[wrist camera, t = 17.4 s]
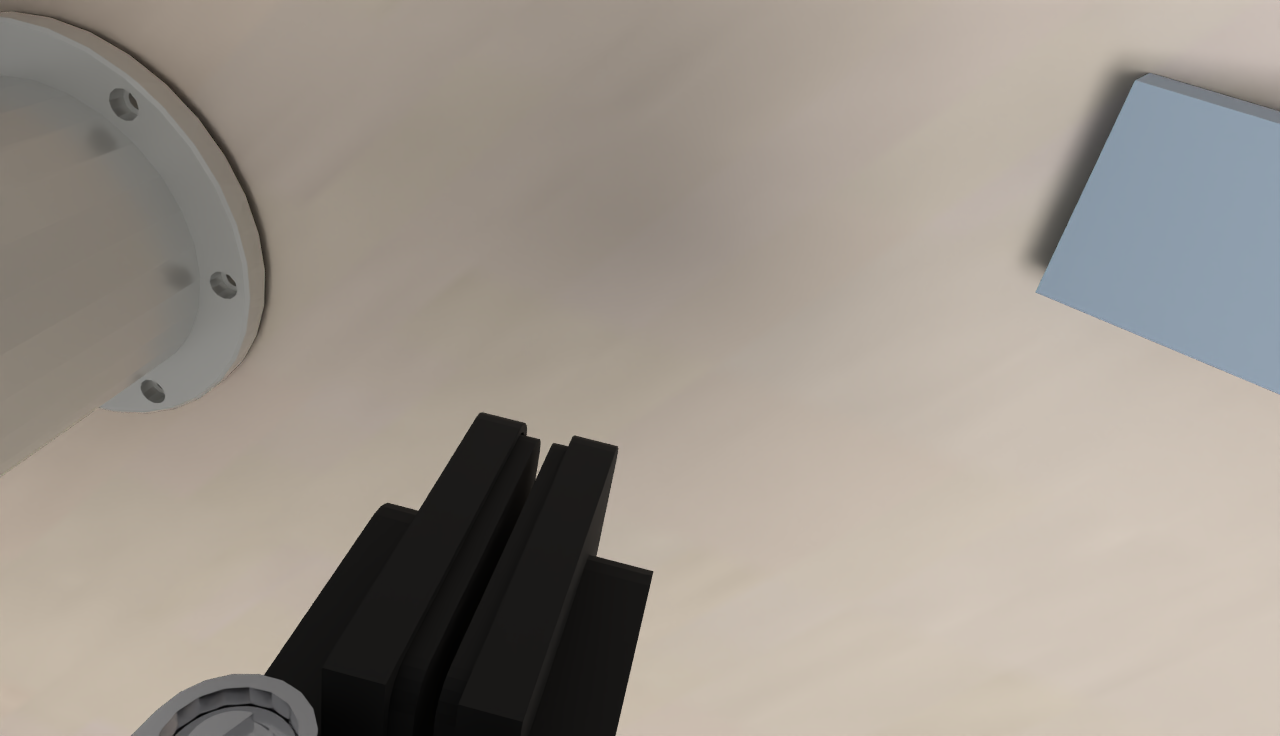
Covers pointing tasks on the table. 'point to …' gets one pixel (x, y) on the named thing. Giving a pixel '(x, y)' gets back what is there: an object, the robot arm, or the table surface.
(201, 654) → the table surface
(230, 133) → the table surface
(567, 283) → the table surface
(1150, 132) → the domino
